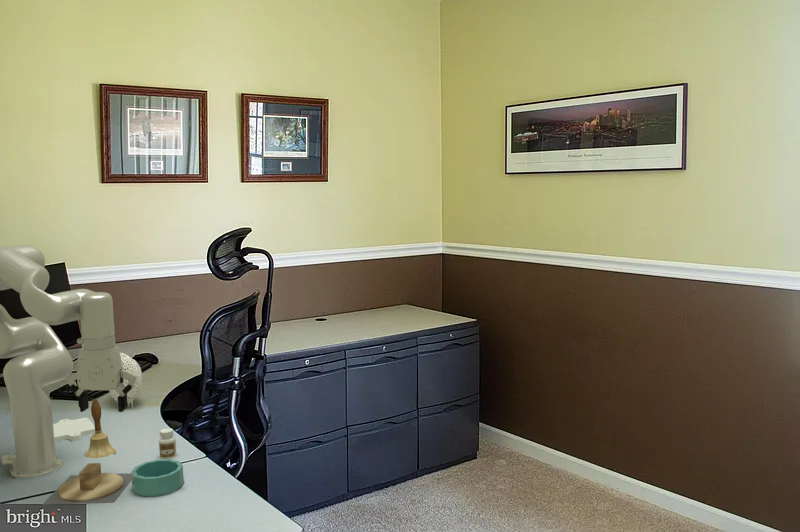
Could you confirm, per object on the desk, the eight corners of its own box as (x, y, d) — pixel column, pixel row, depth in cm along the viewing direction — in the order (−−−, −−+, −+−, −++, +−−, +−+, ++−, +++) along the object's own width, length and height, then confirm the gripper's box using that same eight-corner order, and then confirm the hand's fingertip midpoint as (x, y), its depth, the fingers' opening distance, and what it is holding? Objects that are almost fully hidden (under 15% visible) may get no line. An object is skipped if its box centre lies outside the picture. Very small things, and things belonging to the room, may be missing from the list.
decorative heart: (149, 408, 250) (146, 358, 248) (116, 414, 244) (112, 363, 242) (134, 395, 265) (131, 347, 262) (103, 401, 259) (99, 352, 256)
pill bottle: (159, 461, 205) (157, 433, 204) (160, 455, 209) (158, 428, 208) (176, 459, 206) (174, 432, 205) (176, 453, 210) (175, 426, 209)
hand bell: (105, 460, 206) (100, 404, 204) (78, 459, 208) (73, 403, 205) (121, 449, 214) (117, 395, 212) (95, 447, 216) (91, 394, 213)
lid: (47, 502, 179) (46, 481, 179) (73, 476, 194) (71, 457, 194) (111, 500, 180) (109, 479, 179) (131, 474, 195) (130, 455, 194)
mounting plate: (99, 436, 225) (99, 430, 225) (52, 447, 218) (52, 440, 218) (85, 420, 240) (85, 415, 240) (41, 429, 233) (40, 423, 233)
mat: (42, 506, 178) (41, 504, 178) (70, 477, 195) (70, 475, 195) (114, 504, 179) (114, 502, 179) (136, 474, 196) (136, 473, 196)
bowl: (126, 499, 182) (125, 479, 181) (141, 478, 193) (140, 460, 193) (176, 497, 182) (174, 477, 181) (188, 477, 194) (187, 458, 193)
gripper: (56, 346, 181) (62, 415, 183) (127, 346, 180) (131, 415, 182) (71, 339, 188) (76, 405, 191) (139, 339, 187) (143, 405, 190)
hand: (103, 410), depth 187 cm, fingers open, 9 cm apart
